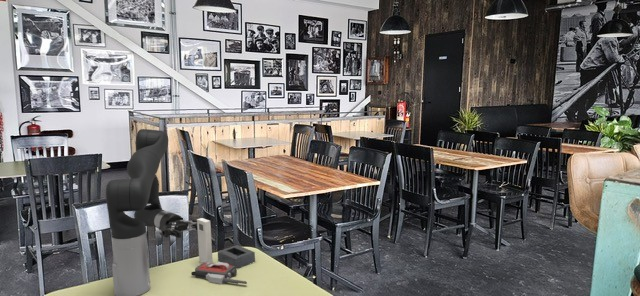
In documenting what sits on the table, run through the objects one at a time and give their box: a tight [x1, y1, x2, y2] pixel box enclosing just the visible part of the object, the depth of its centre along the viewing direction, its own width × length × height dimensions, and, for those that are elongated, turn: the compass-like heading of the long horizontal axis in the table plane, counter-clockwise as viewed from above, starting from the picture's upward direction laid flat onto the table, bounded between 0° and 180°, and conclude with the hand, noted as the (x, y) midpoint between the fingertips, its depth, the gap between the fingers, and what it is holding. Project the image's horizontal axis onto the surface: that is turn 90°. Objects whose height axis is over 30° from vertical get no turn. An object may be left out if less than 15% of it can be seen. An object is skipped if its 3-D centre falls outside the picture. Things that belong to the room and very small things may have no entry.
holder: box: [217, 244, 256, 270], centre depth 148 cm, size 10×8×4 cm
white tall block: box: [196, 217, 214, 264], centre depth 146 cm, size 5×2×15 cm, turn 46°
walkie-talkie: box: [191, 261, 248, 285], centre depth 135 cm, size 9×4×20 cm
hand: (191, 231), depth 152 cm, fingers open, 8 cm apart
